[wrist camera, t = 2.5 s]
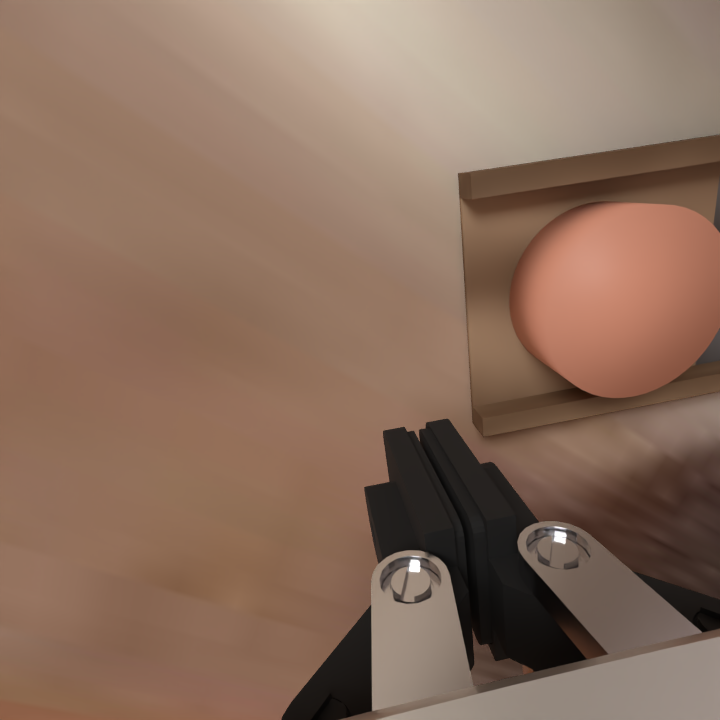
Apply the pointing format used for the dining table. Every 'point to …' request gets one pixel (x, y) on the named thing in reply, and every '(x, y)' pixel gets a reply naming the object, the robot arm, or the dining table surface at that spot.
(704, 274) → the salmon rounded disc
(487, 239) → the trap lane
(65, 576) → the dining table surface
